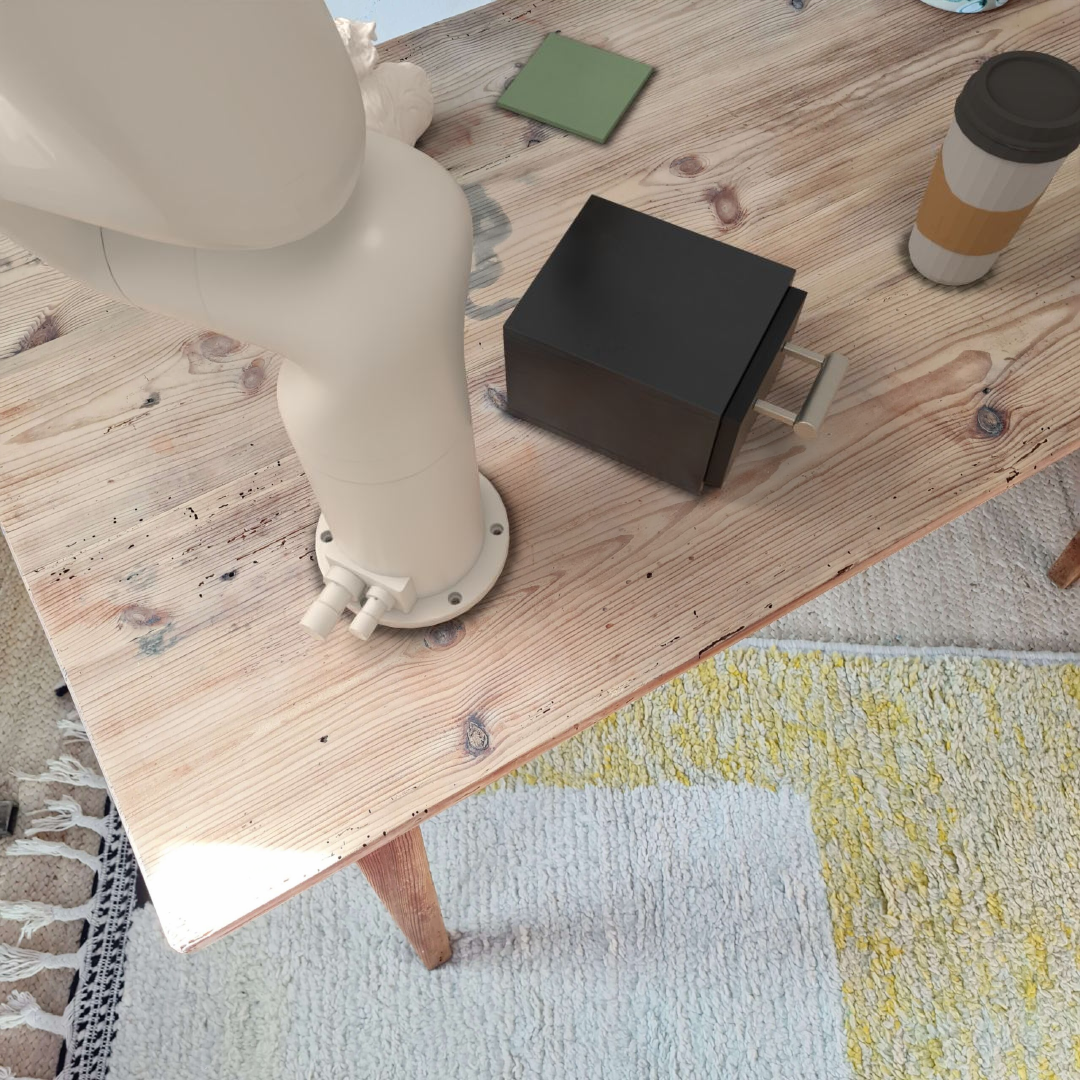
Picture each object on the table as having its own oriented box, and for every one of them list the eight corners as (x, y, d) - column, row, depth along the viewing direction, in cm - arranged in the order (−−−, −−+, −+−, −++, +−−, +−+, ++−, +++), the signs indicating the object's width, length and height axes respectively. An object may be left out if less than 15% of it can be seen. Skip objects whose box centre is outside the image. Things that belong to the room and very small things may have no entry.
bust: (429, 133, 85) (362, -1, 79) (470, 123, 79) (401, -23, 73) (318, 202, 81) (240, 67, 76) (353, 198, 75) (271, 50, 69)
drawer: (839, 388, 69) (872, 315, 62) (781, 515, 64) (809, 452, 57) (611, 298, 72) (617, 220, 65) (540, 412, 68) (539, 341, 61)
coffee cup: (1003, 306, 73) (1106, 143, 59) (890, 289, 74) (966, 124, 60) (1002, 224, 77) (1099, 53, 63) (894, 209, 77) (967, 37, 64)
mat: (603, 144, 81) (603, 139, 80) (497, 106, 83) (497, 101, 83) (652, 71, 85) (653, 66, 84) (550, 37, 87) (550, 32, 87)
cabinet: (766, 361, 71) (797, 269, 62) (698, 496, 66) (720, 415, 57) (586, 290, 74) (591, 193, 65) (507, 413, 69) (502, 325, 60)
